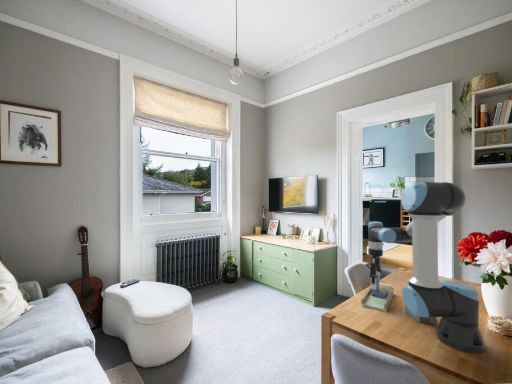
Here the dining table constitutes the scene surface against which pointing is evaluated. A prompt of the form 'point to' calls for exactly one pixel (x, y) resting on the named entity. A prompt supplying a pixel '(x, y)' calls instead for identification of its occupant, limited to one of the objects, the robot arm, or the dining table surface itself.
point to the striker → (378, 292)
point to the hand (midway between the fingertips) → (375, 285)
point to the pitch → (377, 299)
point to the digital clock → (421, 319)
